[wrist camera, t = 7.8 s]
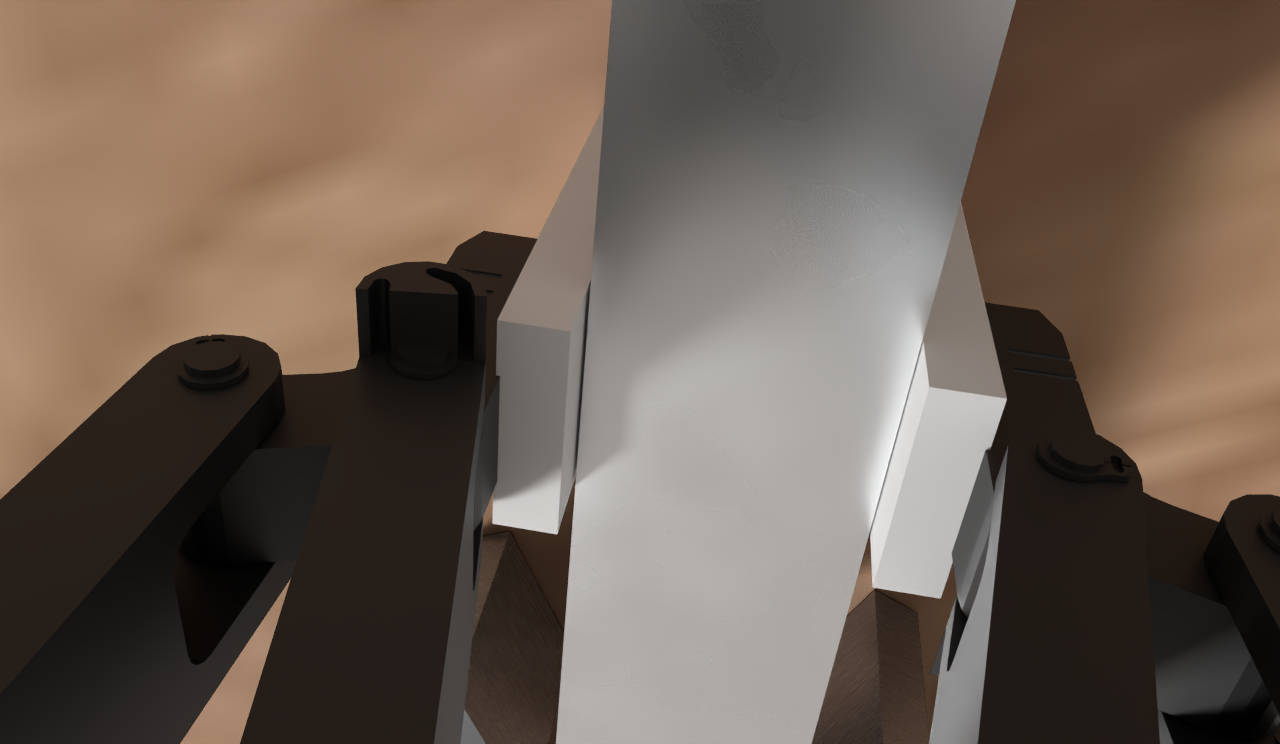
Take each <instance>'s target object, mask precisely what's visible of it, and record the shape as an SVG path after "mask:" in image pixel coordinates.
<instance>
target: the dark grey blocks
mask: <svg viewBox="0 0 1280 744" xmlns="http://www.w3.org/2000/svg"><path fill="white" fill-rule="evenodd" d="M563 643H564V633H563V631H562V629H561V627H560V625H559V623H558V621H557V619H556V617H555V616H554V614H553V612H552V610H551V608H550V606H549V604H548V602H547V600H546V599H545V597H544V595H543V593H542V591H541V589H540V587H539V585H538V583H537V582H536V580H535V578H534V576H533V574H532V572H531V570H530V568H529V566H528V564H527V563H526V561H525V559H524V557H523V555H522V553H521V551H520V549H519V547H518V546H517V544H516V542H515V540H514V538H513V536H512V534H511V532H510V531H508V532H503V533H497V534H492V535H487V536H483V548H482V557H481V566H480V575H479V584H478V592H477V601H476V610H475V619H474V628H473V637H472V646H471V655H470V663H469V672H468V681H467V690H466V699H465V708H464V717H463V725H462V734H461V743H460V744H549V740H550V736H551V732H552V727H553V723H554V719H555V715H556V711H557V707H558V703H559V696H560V683H561V669H562V656H563ZM929 741H930V740H929V730H928V719H927V709H926V698H925V688H924V677H923V667H922V656H921V646H920V636H919V625H918V615H917V613H916V612H914V611H912V610H910V609H909V608H907V607H905V606H903V605H901V604H900V603H898V602H896V601H894V600H892V599H890V598H889V597H887V596H885V595H883V594H881V593H879V592H878V591H876V590H874V591H873V592H872V593H871V594H870V595H869V596H868V597H867V598H866V599H865V600H864V601H863V602H861V603H860V604H859V605H858V606H857V607H856V608H855V609H854V610H853V611H852V612H851V613H850V614H849V615H848V616H847V617H846V620H845V624H844V628H843V631H842V635H841V638H840V642H839V646H838V649H837V653H836V657H835V660H834V664H833V668H832V671H831V675H830V678H829V682H828V686H827V689H826V693H825V697H824V700H823V704H822V708H821V711H820V715H819V718H818V722H817V726H816V729H815V733H814V737H813V740H812V744H929Z"/></svg>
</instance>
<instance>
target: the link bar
mask: <svg viewBox="0 0 1280 744" xmlns="http://www.w3.org/2000/svg"><path fill="white" fill-rule="evenodd" d="M1015 2H1016V0H612V9H611V23H610V36H609V49H608V62H607V75H606V89H605V102H604V115H603V128H602V141H601V155H600V168H599V181H598V194H597V207H596V221H595V234H594V247H593V260H592V273H591V287H590V300H589V313H588V326H587V339H586V353H585V366H584V379H583V392H582V405H581V419H580V432H579V445H578V458H577V471H576V485H575V498H574V511H573V524H572V537H571V551H570V564H569V577H568V590H567V603H566V617H565V630H564V643H563V656H562V669H561V683H560V696H559V709H558V722H557V735H556V744H812V740H813V737H814V733H815V729H816V726H817V722H818V718H819V715H820V711H821V708H822V704H823V700H824V697H825V693H826V689H827V686H828V682H829V678H830V675H831V671H832V668H833V664H834V660H835V657H836V653H837V649H838V646H839V642H840V638H841V635H842V631H843V628H844V624H845V620H846V617H847V613H848V609H849V606H850V602H851V598H852V595H853V591H854V588H855V584H856V580H857V577H858V573H859V569H860V566H861V562H862V558H863V555H864V551H865V548H866V544H867V540H868V537H869V533H870V529H871V526H872V522H873V519H874V515H875V511H876V508H877V504H878V500H879V497H880V493H881V489H882V486H883V482H884V479H885V475H886V471H887V468H888V464H889V460H890V457H891V453H892V449H893V446H894V442H895V439H896V435H897V431H898V428H899V424H900V420H901V417H902V413H903V409H904V406H905V402H906V399H907V395H908V391H909V388H910V384H911V380H912V377H913V373H914V369H915V366H916V362H917V359H918V355H919V351H920V348H921V344H922V340H923V337H924V333H925V329H926V326H927V322H928V319H929V315H930V311H931V308H932V304H933V300H934V297H935V293H936V289H937V286H938V282H939V279H940V275H941V271H942V268H943V264H944V260H945V257H946V253H947V249H948V246H949V242H950V239H951V235H952V231H953V228H954V224H955V220H956V217H957V213H958V209H959V206H960V202H961V199H962V195H963V191H964V188H965V184H966V180H967V177H968V173H969V169H970V166H971V162H972V159H973V155H974V151H975V148H976V144H977V140H978V137H979V133H980V129H981V126H982V122H983V119H984V115H985V111H986V108H987V104H988V100H989V97H990V93H991V89H992V86H993V82H994V79H995V75H996V71H997V68H998V64H999V60H1000V57H1001V53H1002V50H1003V46H1004V42H1005V39H1006V35H1007V31H1008V28H1009V24H1010V20H1011V17H1012V13H1013V10H1014V6H1015Z"/></svg>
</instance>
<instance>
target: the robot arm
mask: <svg viewBox="0 0 1280 744" xmlns="http://www.w3.org/2000/svg"><path fill="white" fill-rule="evenodd" d="M603 115H604V107H603V109H602V111H601V113H600V115H599V117H598V119H597V121H596V123H595V125H594V127H593V129H592V131H591V133H590V135H589V137H588V139H587V141H586V143H585V145H584V147H583V149H582V151H581V153H580V155H579V157H578V159H577V161H576V163H575V165H574V167H573V169H572V171H571V173H570V175H569V177H568V179H567V181H566V183H565V185H564V187H563V189H562V191H561V193H560V195H559V197H558V199H557V201H556V203H555V205H554V207H553V209H552V211H551V213H550V215H549V217H548V219H547V221H546V223H545V225H544V227H543V229H542V231H541V233H540V235H539V237H538V239H535V238H528V237H521V236H515V235H508V234H501V233H495V232H488V231H483V232H481V233H479V234H478V235H476V236H474V237H473V238H471V239H469V240H467V241H466V242H464V243H462V244H460V245H459V246H457V248H456V250H455V251H454V253H453V254H452V256H451V257H450V259H449V261H448V262H447V264H442V263H435V262H404V263H400V264H395V265H391V266H387V267H382V268H380V269H378V270H376V271H375V272H373V273H371V274H369V275H367V276H365V277H364V278H363V280H362V281H361V282H360V284H359V285H358V286H357V287H356V303H357V321H358V338H359V356H360V357H359V360H358V363H357V367H356V368H355V369H350V370H346V371H342V372H333V373H323V374H298V375H282V370H281V364H280V360H279V356H278V353H276V352H275V351H274V350H273V349H272V348H270V347H269V346H268V345H267V344H266V343H263V342H260V341H257V340H254V339H251V338H248V337H245V336H233V335H223V334H222V335H211V336H208V335H207V336H201V337H196V338H193V339H190V340H187V341H184V342H181V343H178V344H175V345H172V346H170V347H168V348H167V349H165V350H164V351H162V352H161V353H159V354H158V355H156V356H155V357H153V358H152V359H151V360H150V361H149V362H148V363H147V364H146V365H145V366H144V367H142V368H141V369H140V370H139V371H138V372H137V373H136V374H135V375H134V376H133V377H132V378H131V379H130V380H128V381H127V382H126V383H125V384H124V385H123V386H122V387H121V388H120V389H119V390H118V391H117V392H116V393H115V394H113V395H112V396H111V397H110V398H109V399H108V400H107V401H106V402H105V403H104V404H103V405H102V406H101V407H99V408H98V409H97V410H96V411H95V412H94V413H93V414H92V415H91V416H90V417H89V418H88V419H87V420H85V421H84V422H83V423H82V424H81V425H80V426H79V427H78V428H77V429H76V430H75V431H74V432H73V433H72V434H70V435H69V436H68V437H67V438H66V439H65V440H64V441H63V442H62V443H61V444H60V445H59V446H58V447H56V448H55V449H54V450H53V451H52V452H51V453H50V454H49V455H48V456H47V457H46V458H45V459H44V460H42V461H41V462H40V463H39V464H38V465H37V466H36V467H35V468H34V469H33V470H32V471H31V472H30V473H28V474H27V475H26V476H25V477H24V478H23V479H22V480H21V481H20V482H19V483H18V484H17V485H16V486H15V487H13V488H12V489H11V490H10V491H9V492H8V493H7V494H6V495H5V496H4V497H3V498H2V499H1V500H0V744H180V743H181V741H182V740H183V738H184V737H185V735H186V734H187V732H188V731H189V729H190V728H191V726H192V725H193V723H194V722H195V720H196V719H197V717H198V716H199V714H200V713H201V711H202V710H203V708H204V707H205V705H206V704H207V703H208V701H209V700H210V698H211V697H212V695H213V694H214V692H215V691H216V689H217V688H218V686H219V685H220V683H221V682H222V680H223V679H224V677H225V676H226V674H227V673H228V671H229V670H230V668H231V667H232V665H233V664H234V662H235V661H236V659H237V658H238V656H239V655H240V653H241V652H242V650H243V649H244V647H245V646H246V644H247V643H248V641H249V640H250V638H251V637H252V635H253V634H254V632H255V631H256V629H257V628H258V626H259V625H260V623H261V622H262V620H263V619H264V617H265V616H266V614H267V613H268V611H269V610H270V608H271V607H272V605H273V604H274V602H275V601H276V600H277V598H278V597H279V595H280V594H281V592H282V591H283V589H284V588H285V586H286V585H287V583H288V582H289V580H290V579H291V580H290V584H289V587H288V590H287V593H286V597H285V600H284V603H283V606H282V610H281V613H280V616H279V619H278V623H277V626H276V629H275V632H274V636H273V639H272V642H271V645H270V649H269V652H268V655H267V658H266V661H265V665H264V668H263V671H262V674H261V678H260V681H259V684H258V687H257V691H256V694H255V697H254V700H253V704H252V707H251V710H250V713H249V717H248V720H247V723H246V726H245V730H244V733H243V736H242V739H241V742H240V744H460V743H461V734H462V725H463V717H464V708H465V699H466V690H467V681H468V672H469V663H470V655H471V646H472V637H473V628H474V619H475V610H476V601H477V592H478V584H479V575H480V566H481V557H482V548H483V515H484V513H485V510H486V508H487V506H488V503H489V501H490V498H491V496H492V493H493V523H492V524H498V525H504V526H510V527H516V528H522V529H528V530H533V531H539V532H545V533H551V534H558V531H559V528H560V524H561V521H562V518H563V515H564V512H565V508H566V505H567V502H568V499H569V495H570V492H571V489H572V486H573V483H574V479H575V476H576V471H577V458H578V445H579V432H580V419H581V405H582V392H583V379H584V366H585V353H586V339H587V326H588V313H589V300H590V287H591V273H592V260H593V247H594V234H595V221H596V207H597V194H598V181H599V168H600V155H601V141H602V128H603ZM1069 359H1070V356H1069V353H1068V350H1067V347H1066V344H1065V341H1064V338H1063V335H1062V333H1061V332H1060V331H1059V330H1058V329H1057V328H1056V327H1055V326H1054V325H1053V324H1052V323H1051V322H1050V321H1049V320H1048V319H1047V318H1046V317H1045V316H1044V315H1043V314H1042V313H1041V312H1040V311H1039V310H1032V309H1025V308H1018V307H1012V306H1005V305H998V304H991V303H985V302H984V298H983V294H982V290H981V285H980V281H979V277H978V272H977V268H976V264H975V260H974V255H973V251H972V247H971V242H970V238H969V234H968V230H967V225H966V221H965V217H964V213H963V208H962V204H961V202H960V206H959V209H958V213H957V217H956V220H955V224H954V228H953V231H952V235H951V239H950V242H949V246H948V249H947V253H946V257H945V260H944V264H943V268H942V271H941V275H940V279H939V282H938V286H937V289H936V293H935V297H934V300H933V304H932V308H931V311H930V315H929V319H928V322H927V326H926V329H925V333H924V337H923V340H922V344H921V348H920V351H919V355H918V359H917V362H916V366H915V369H914V373H913V377H912V380H911V384H910V388H909V391H908V395H907V399H906V402H905V406H904V409H903V413H902V417H901V420H900V424H899V428H898V431H897V435H896V439H895V442H894V446H893V449H892V453H891V457H890V460H889V464H888V468H887V471H886V475H885V479H884V482H883V486H882V489H881V493H880V497H879V500H878V504H877V508H876V511H875V515H874V519H873V522H872V526H871V529H870V540H871V562H872V585H873V588H879V589H885V590H891V591H897V592H903V593H909V594H915V595H921V596H927V597H933V598H939V599H941V596H942V593H943V590H944V587H945V584H946V581H947V578H948V575H949V572H950V569H951V566H952V563H953V568H954V575H955V583H956V590H957V596H956V599H955V602H954V605H953V608H952V611H951V614H950V617H949V620H948V623H947V625H946V628H945V631H944V634H943V637H942V640H941V643H940V646H939V649H938V652H937V655H936V658H935V661H934V663H933V666H932V669H931V672H930V674H931V675H935V676H938V677H939V680H938V686H937V693H936V700H935V707H934V714H933V720H932V727H931V734H930V741H929V744H1280V497H1279V496H1275V495H1245V496H1242V497H1240V498H1237V499H1235V500H1232V501H1230V503H1229V505H1228V507H1227V508H1226V510H1225V512H1224V514H1223V516H1222V518H1221V520H1220V522H1217V521H1215V520H1212V519H1209V518H1206V517H1203V516H1200V515H1198V514H1195V513H1192V512H1189V511H1186V510H1183V509H1181V508H1178V507H1175V506H1172V505H1170V504H1167V503H1165V502H1163V501H1160V500H1158V499H1156V498H1153V497H1151V496H1150V495H1148V494H1146V493H1144V492H1143V485H1142V478H1141V475H1140V473H1139V470H1138V468H1137V465H1136V463H1135V462H1134V461H1133V460H1132V459H1131V458H1130V457H1129V456H1128V455H1127V454H1126V453H1125V452H1124V451H1123V450H1122V449H1121V448H1119V447H1118V446H1116V445H1114V444H1113V443H1111V442H1109V441H1108V440H1106V439H1105V438H1103V437H1101V436H1100V435H1097V434H1096V433H1095V430H1094V427H1093V424H1092V421H1091V418H1090V415H1089V412H1088V409H1087V406H1086V403H1085V400H1084V398H1083V395H1082V392H1081V389H1080V386H1079V383H1078V381H1076V374H1075V371H1074V368H1073V365H1072V362H1069Z"/></svg>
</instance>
